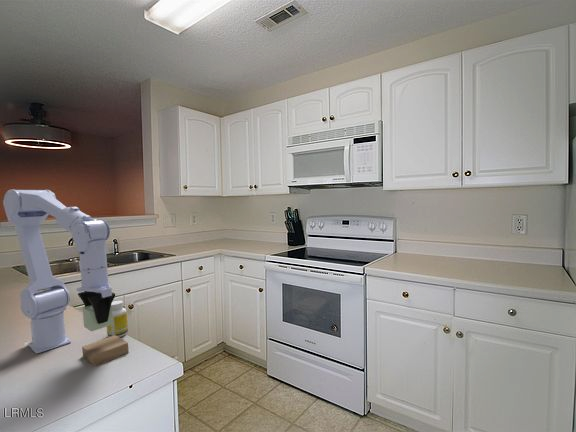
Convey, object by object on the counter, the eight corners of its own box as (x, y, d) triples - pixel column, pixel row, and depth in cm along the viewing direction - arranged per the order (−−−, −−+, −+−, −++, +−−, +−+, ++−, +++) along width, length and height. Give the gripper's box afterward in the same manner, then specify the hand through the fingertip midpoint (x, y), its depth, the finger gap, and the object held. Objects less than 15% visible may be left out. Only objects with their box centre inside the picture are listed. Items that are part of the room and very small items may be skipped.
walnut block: (83, 358, 79) (82, 346, 79) (116, 345, 85) (115, 335, 85) (94, 367, 74) (93, 355, 74) (128, 353, 80) (127, 342, 80)
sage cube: (84, 326, 78) (82, 307, 77) (105, 320, 82) (103, 301, 81) (91, 331, 75) (89, 311, 74) (113, 324, 78) (111, 305, 78)
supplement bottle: (131, 330, 94) (129, 299, 93) (122, 338, 88) (120, 305, 88) (113, 331, 94) (111, 300, 93) (103, 339, 88) (100, 306, 88)
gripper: (66, 267, 79) (70, 319, 80) (86, 274, 70) (91, 332, 70) (96, 262, 84) (100, 310, 85) (119, 268, 75) (123, 322, 76)
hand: (98, 320), depth 78 cm, fingers closed on sage cube, 5 cm apart
